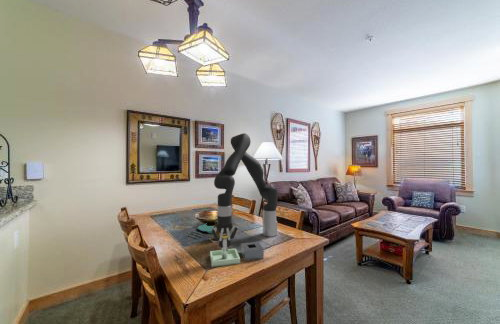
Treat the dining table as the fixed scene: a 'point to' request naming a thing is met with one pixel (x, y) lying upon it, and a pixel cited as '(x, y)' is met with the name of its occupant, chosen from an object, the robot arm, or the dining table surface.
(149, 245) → the dining table surface
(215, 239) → the condiment
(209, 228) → the cutlery set
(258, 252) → the socket block
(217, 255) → the tray
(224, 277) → the dining table surface
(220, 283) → the dining table surface
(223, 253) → the pin
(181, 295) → the dining table surface
